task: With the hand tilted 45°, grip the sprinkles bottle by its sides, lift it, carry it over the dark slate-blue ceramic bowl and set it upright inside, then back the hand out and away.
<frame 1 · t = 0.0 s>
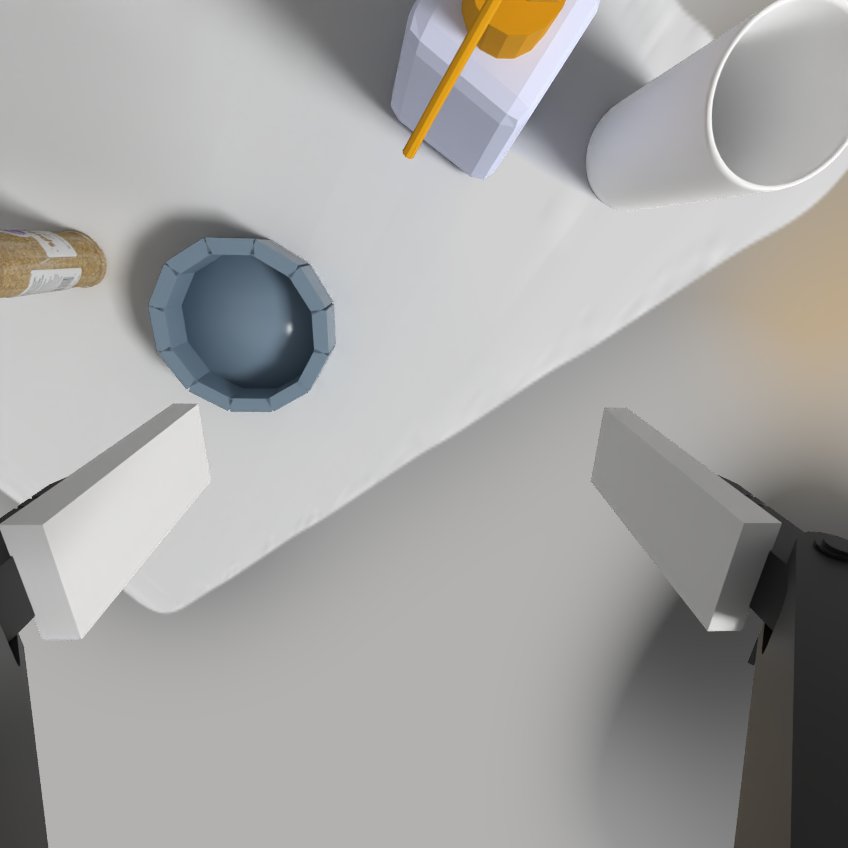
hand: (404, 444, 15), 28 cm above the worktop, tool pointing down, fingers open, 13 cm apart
bowl: (255, 322, 41), on the worktop
sprinkles bottle: (81, 259, 38), on the worktop
cup: (634, 155, 37), on the worktop
soap bottle: (453, 120, 36), on the worktop
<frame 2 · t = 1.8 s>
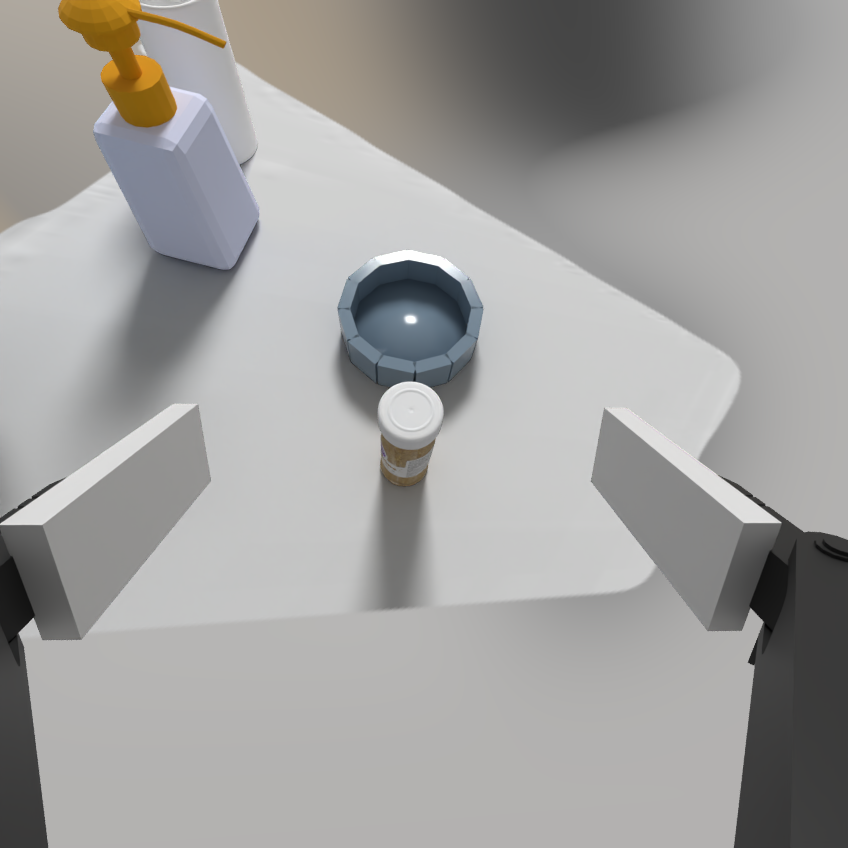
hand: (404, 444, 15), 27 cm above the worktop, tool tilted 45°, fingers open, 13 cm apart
bowl: (409, 330, 48), on the worktop
sprinkles bottle: (404, 465, 43), on the worktop
cup: (224, 145, 56), on the worktop
soap bottle: (229, 240, 51), on the worktop
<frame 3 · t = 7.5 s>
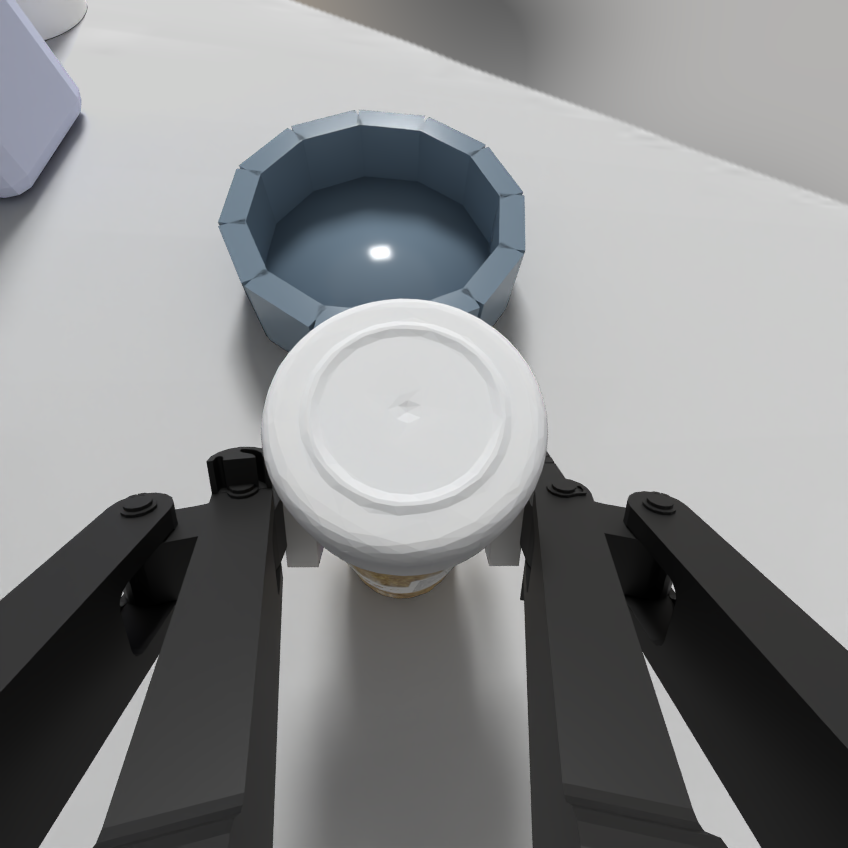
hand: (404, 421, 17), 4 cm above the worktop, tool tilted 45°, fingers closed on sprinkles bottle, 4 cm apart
bowl: (380, 268, 25), on the worktop
sprinkles bottle: (403, 543, 19), on the worktop, touching gripper
cup: (29, 15, 33), on the worktop
soap bottle: (27, 152, 28), on the worktop
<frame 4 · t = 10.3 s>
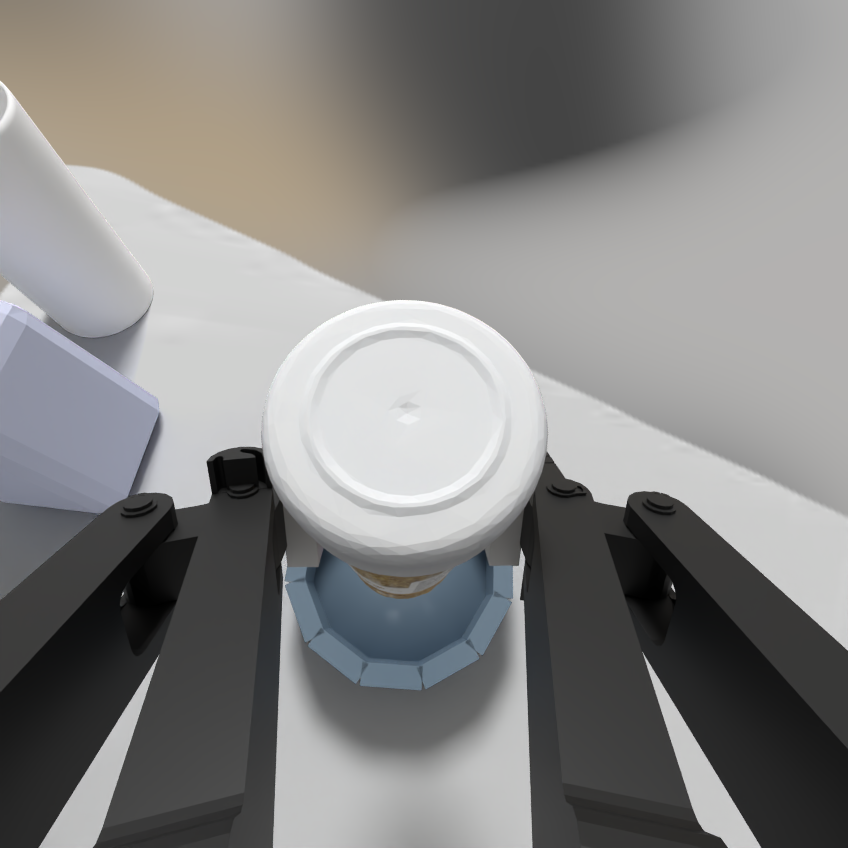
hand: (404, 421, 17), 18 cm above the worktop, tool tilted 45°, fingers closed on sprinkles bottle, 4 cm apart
bowl: (401, 566, 32), on the worktop
sprinkles bottle: (403, 544, 19), point 14 cm above the worktop, touching gripper
cup: (106, 300, 40), on the worktop
soap bottle: (118, 453, 35), on the worktop
when the fingers open (7 cm above the worktop, at t = 13.3 s): sprinkles bottle drops 1 cm, resting on bowl.
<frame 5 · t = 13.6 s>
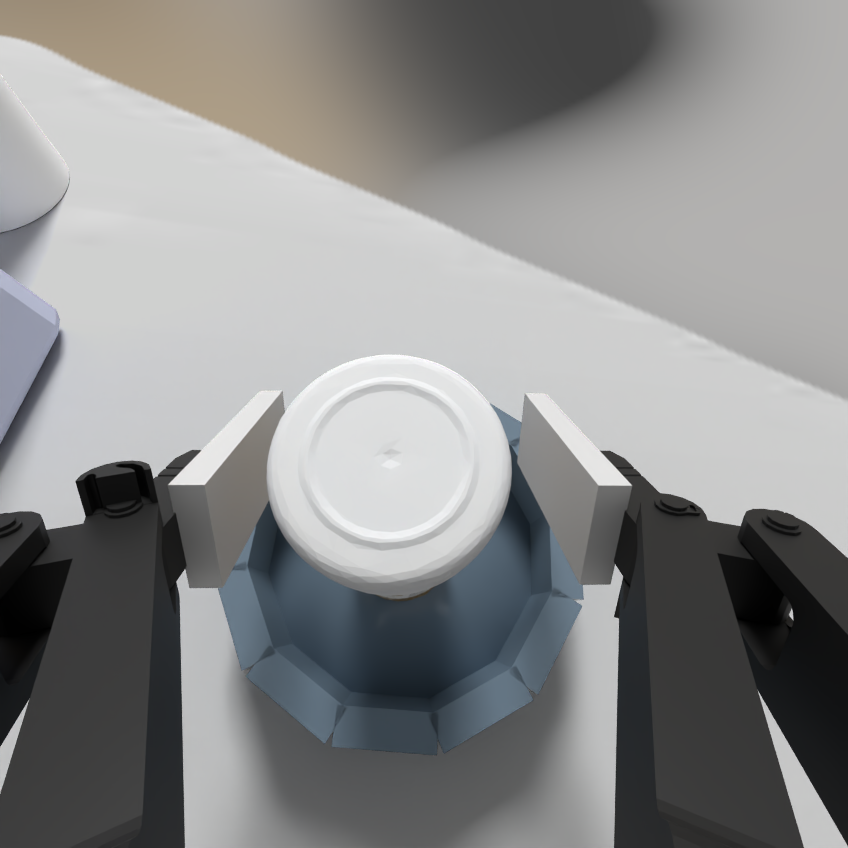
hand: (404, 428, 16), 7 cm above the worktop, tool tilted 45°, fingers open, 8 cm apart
bowl: (403, 551, 21), on the worktop
sprinkles bottle: (402, 549, 21), point 1 cm above the worktop, touching bowl
cup: (4, 189, 30), on the worktop
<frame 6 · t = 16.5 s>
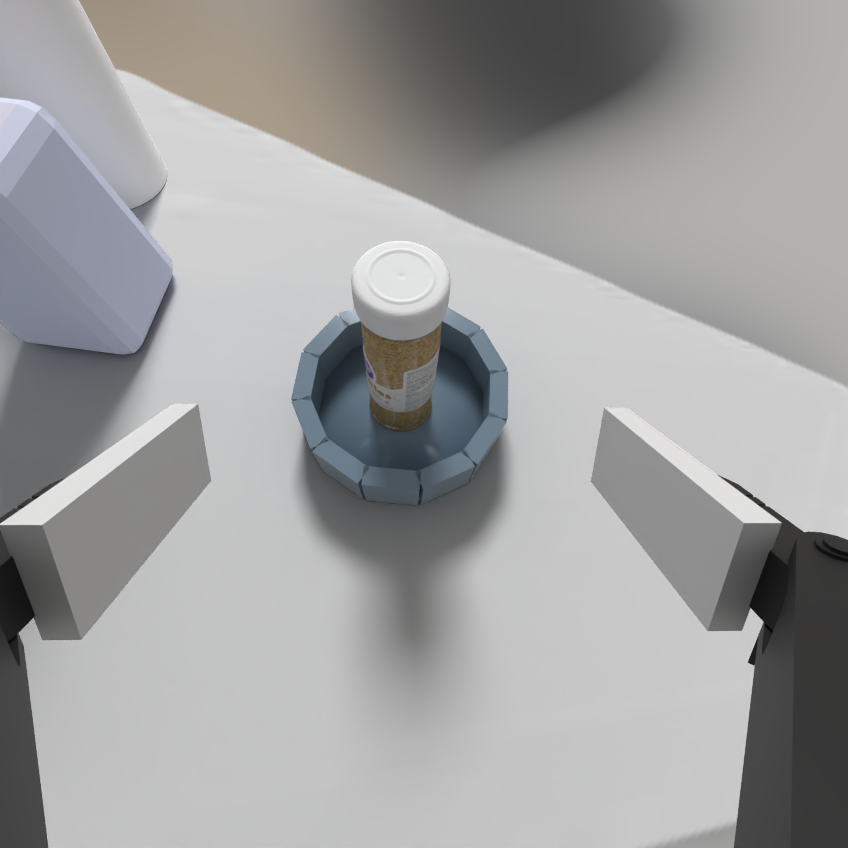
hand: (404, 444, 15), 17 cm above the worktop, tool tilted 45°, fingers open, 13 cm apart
bowl: (402, 410, 34), on the worktop
sprinkles bottle: (401, 406, 33), point 1 cm above the worktop, touching bowl
cup: (122, 181, 42), on the worktop
soap bottle: (133, 310, 36), on the worktop
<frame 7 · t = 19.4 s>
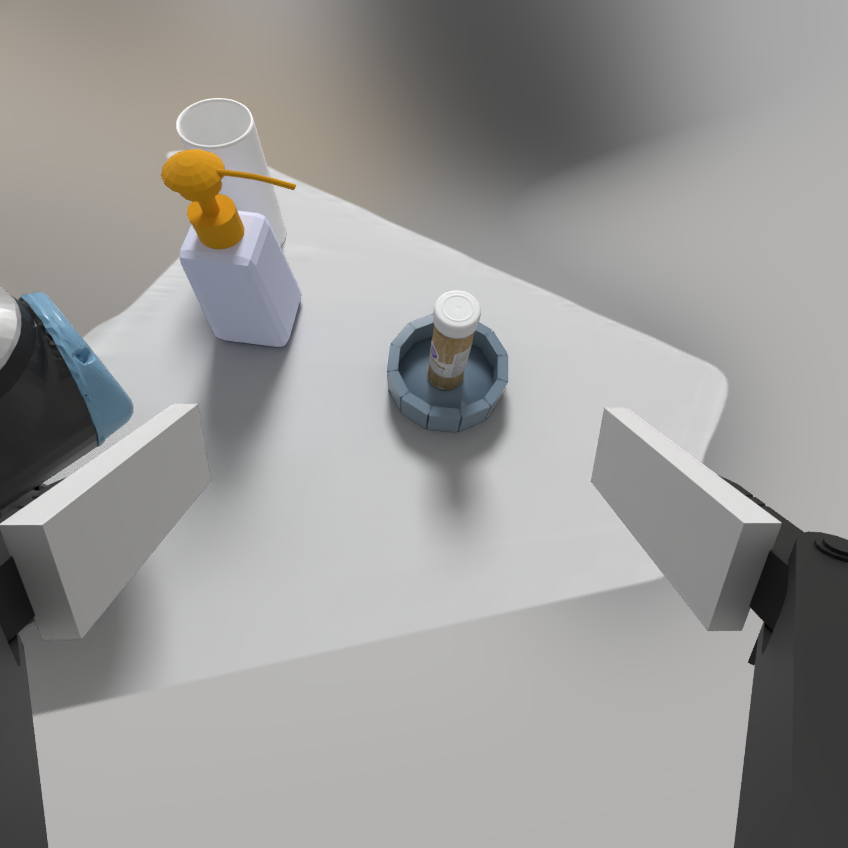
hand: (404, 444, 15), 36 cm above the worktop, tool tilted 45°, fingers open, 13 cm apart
bowl: (445, 379, 57), on the worktop
sprinkles bottle: (445, 376, 56), point 1 cm above the worktop, touching bowl
cup: (257, 235, 65), on the worktop
soap bottle: (278, 320, 59), on the worktop
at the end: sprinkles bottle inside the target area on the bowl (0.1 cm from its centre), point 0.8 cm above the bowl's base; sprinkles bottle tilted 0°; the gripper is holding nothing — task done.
